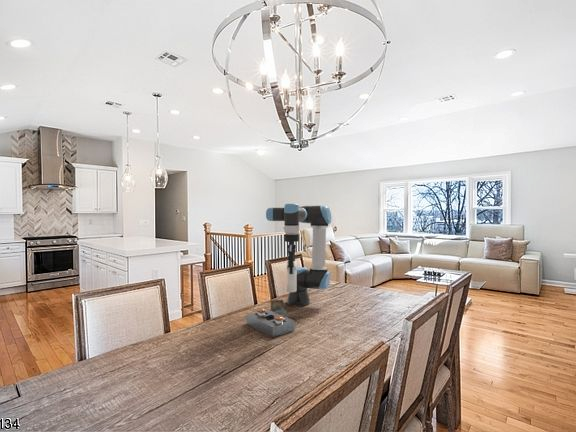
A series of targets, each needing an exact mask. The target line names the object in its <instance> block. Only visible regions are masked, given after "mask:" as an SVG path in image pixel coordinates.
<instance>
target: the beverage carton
mask: <svg viewBox="0 0 576 432" xmlns="http://www.w3.org/2000/svg"><path fill="white" fill-rule="evenodd" d="M270 311H272V312H275V313H277V314H280V315H282V316H284V317H287V318H288V309H287V307H286V305H285V302H284V300H283V299H274V300H270Z"/></svg>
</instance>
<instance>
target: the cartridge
mask: <svg viewBox="0 0 576 432" xmlns="http://www.w3.org/2000/svg"><path fill="white" fill-rule="evenodd" d="M297 263H298V262H297V261H296V260H295V261H294V280H289V268H287V266H288V261H286V292H287V293H289V292H296V291H297V268H298V267H297V265H298V264H297Z"/></svg>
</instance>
